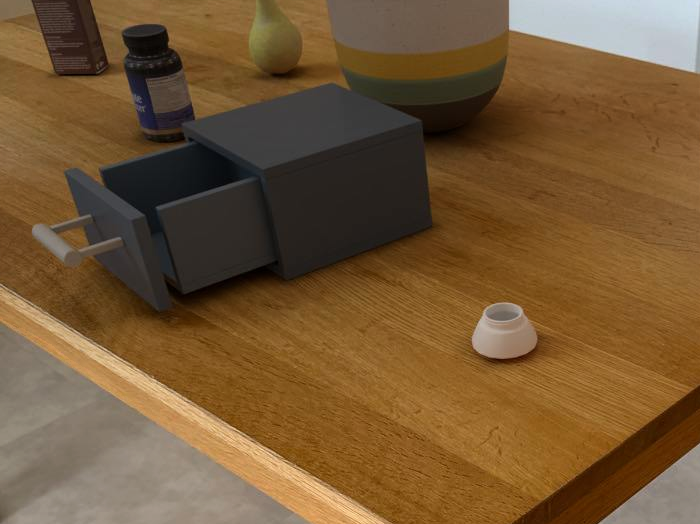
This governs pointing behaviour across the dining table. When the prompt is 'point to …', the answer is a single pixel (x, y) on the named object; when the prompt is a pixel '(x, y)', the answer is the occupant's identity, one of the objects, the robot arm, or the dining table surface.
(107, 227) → the drawer
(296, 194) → the cabinet
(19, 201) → the dining table surface
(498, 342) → the lidless jar
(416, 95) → the planter
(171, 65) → the pill bottle
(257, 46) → the fruit
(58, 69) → the box
